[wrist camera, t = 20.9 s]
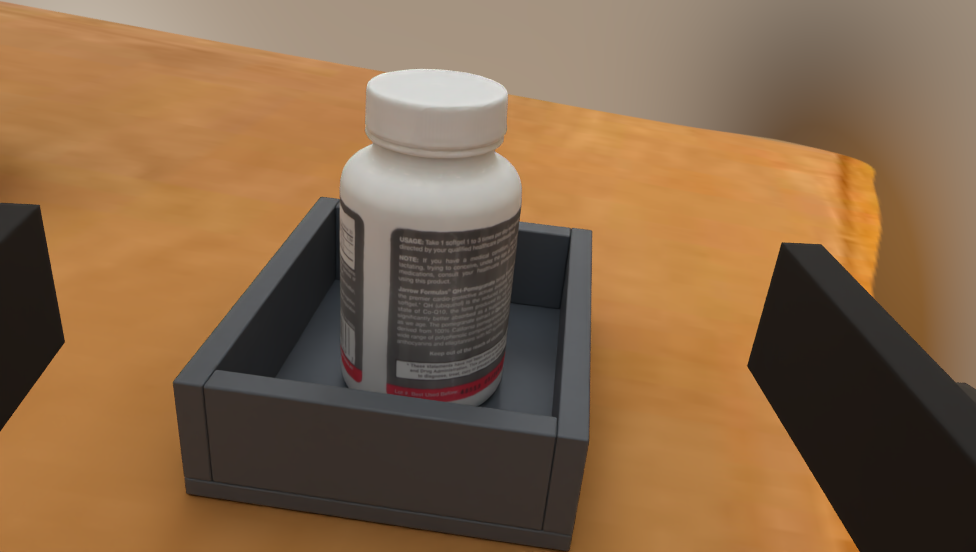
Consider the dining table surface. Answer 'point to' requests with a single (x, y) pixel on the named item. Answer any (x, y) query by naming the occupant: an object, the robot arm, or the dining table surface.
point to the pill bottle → (428, 239)
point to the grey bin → (394, 403)
